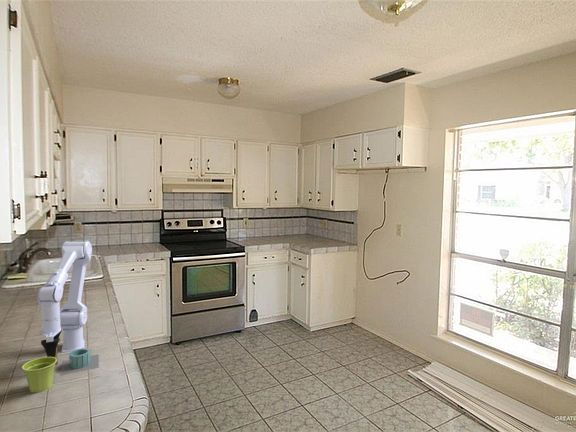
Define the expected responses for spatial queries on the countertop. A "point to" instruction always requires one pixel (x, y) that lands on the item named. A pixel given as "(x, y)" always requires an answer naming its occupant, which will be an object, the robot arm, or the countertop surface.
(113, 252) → the countertop surface
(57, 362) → the walnut peg
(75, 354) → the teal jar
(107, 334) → the countertop surface
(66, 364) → the grey mat
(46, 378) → the plant pot
